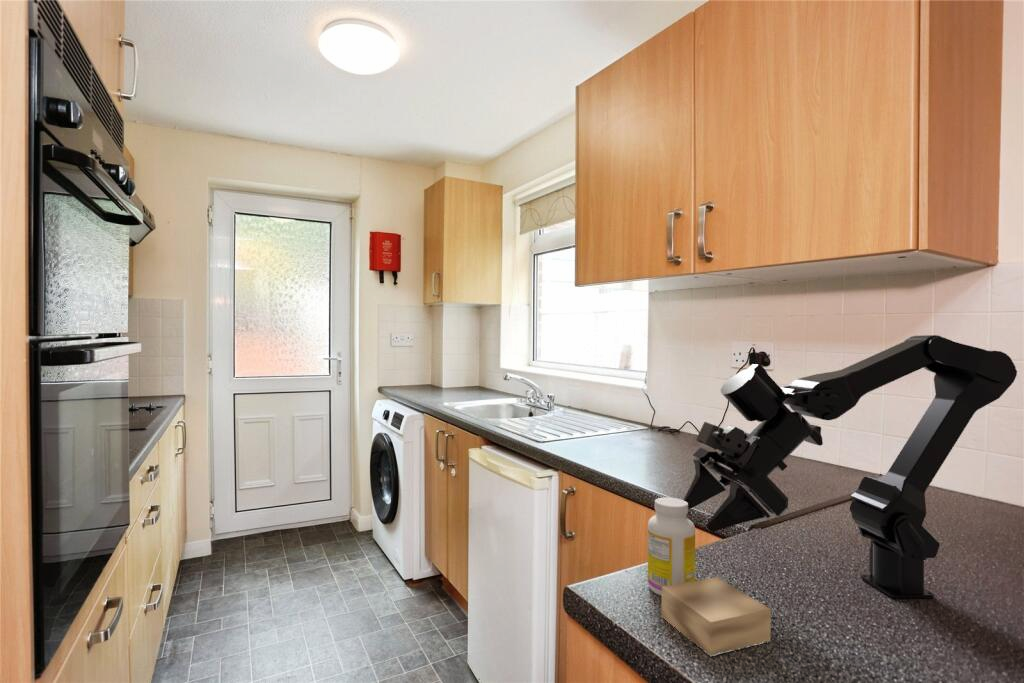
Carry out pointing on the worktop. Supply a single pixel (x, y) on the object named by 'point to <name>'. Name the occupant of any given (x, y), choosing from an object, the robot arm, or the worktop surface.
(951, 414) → the robot arm
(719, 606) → the oak block
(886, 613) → the worktop surface
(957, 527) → the worktop surface
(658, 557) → the supplement bottle
